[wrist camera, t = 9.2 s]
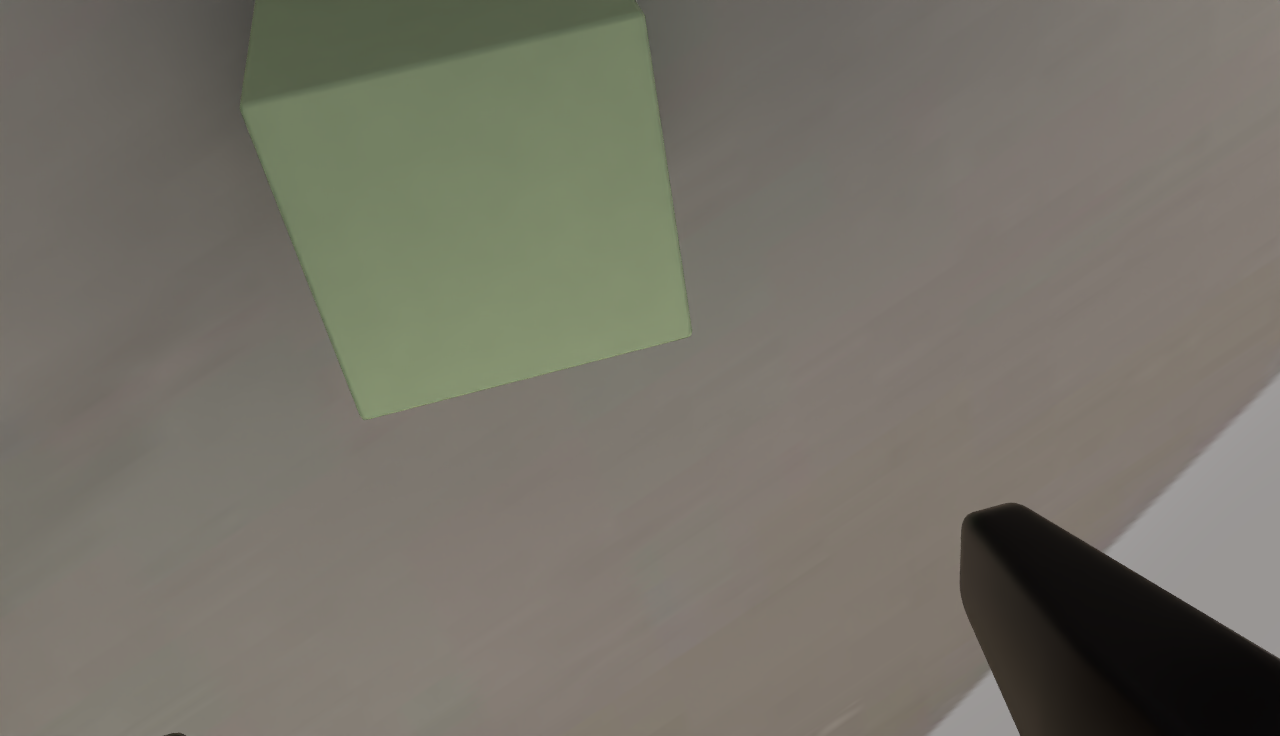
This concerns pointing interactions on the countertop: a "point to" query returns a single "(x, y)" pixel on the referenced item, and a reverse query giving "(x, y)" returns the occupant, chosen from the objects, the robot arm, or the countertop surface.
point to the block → (468, 186)
